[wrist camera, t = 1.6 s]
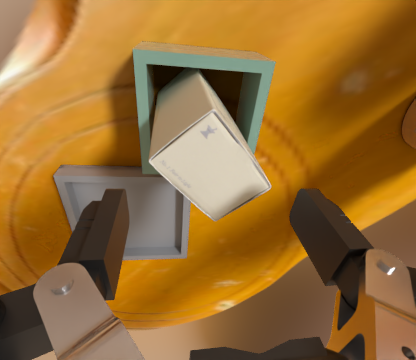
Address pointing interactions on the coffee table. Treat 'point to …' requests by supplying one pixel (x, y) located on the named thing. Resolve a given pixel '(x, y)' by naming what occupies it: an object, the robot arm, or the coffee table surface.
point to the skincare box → (203, 147)
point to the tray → (131, 207)
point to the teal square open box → (208, 59)
